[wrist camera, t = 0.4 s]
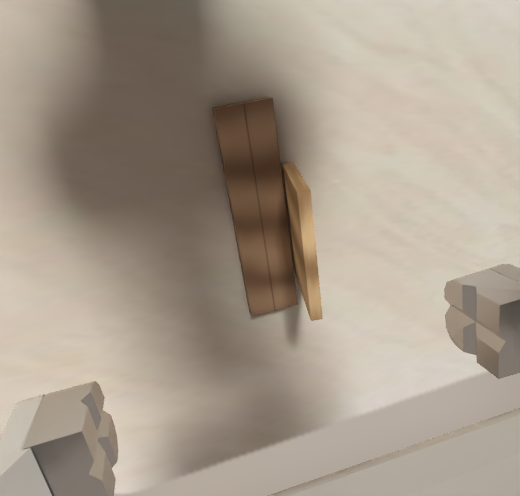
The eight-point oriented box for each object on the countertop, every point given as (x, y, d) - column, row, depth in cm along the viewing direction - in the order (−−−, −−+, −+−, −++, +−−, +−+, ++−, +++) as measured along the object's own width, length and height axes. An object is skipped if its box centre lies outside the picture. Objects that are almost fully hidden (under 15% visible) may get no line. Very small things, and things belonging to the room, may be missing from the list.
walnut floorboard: (212, 107, 44) (214, 109, 43) (269, 97, 45) (272, 98, 44) (249, 311, 55) (252, 316, 54) (294, 299, 56) (297, 304, 55)
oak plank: (293, 161, 47) (282, 163, 47) (310, 190, 38) (297, 192, 38) (305, 272, 54) (295, 273, 54) (322, 318, 45) (311, 320, 45)
